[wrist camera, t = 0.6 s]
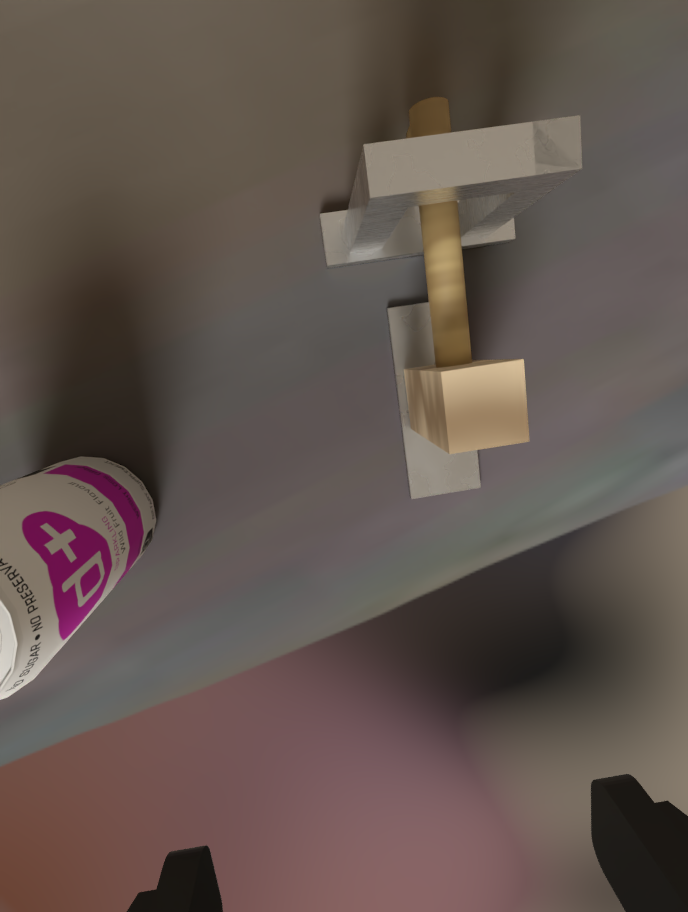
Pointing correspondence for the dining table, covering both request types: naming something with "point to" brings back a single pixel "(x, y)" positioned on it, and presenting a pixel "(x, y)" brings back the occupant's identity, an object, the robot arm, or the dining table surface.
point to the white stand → (481, 224)
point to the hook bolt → (457, 337)
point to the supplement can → (63, 555)
